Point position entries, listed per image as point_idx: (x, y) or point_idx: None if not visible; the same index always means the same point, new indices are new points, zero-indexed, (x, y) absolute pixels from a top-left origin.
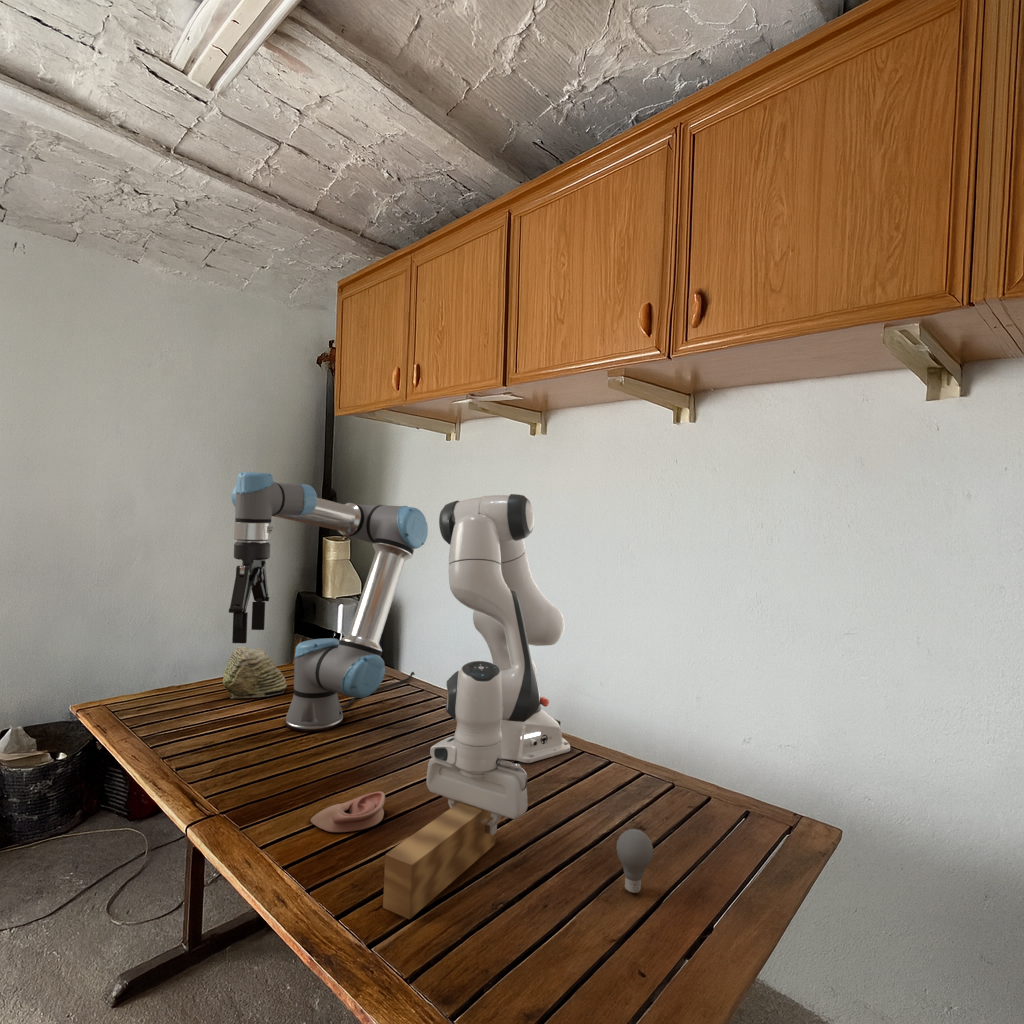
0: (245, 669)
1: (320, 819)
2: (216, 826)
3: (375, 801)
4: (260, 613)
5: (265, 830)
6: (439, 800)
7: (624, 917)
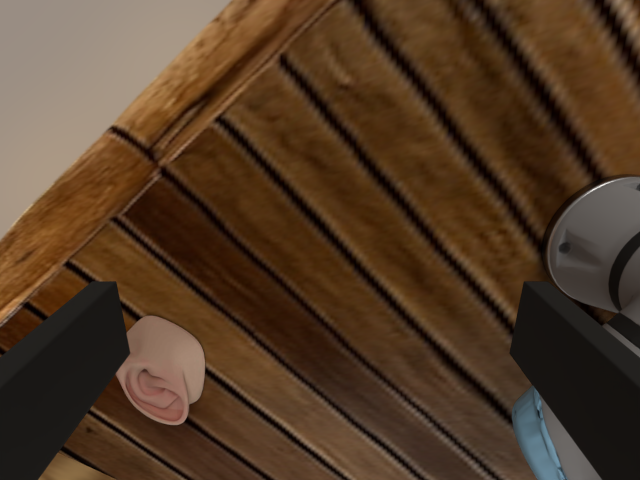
0: None
1: (137, 333)
2: (116, 177)
3: (176, 406)
4: (586, 426)
5: (116, 256)
6: (233, 461)
7: None
